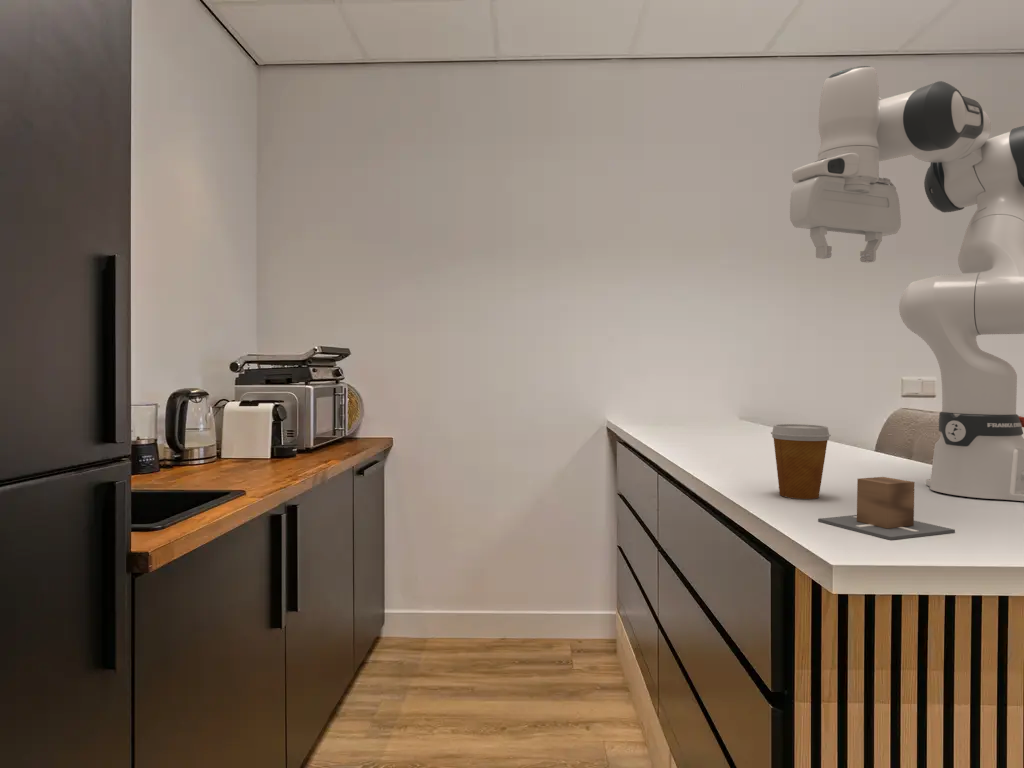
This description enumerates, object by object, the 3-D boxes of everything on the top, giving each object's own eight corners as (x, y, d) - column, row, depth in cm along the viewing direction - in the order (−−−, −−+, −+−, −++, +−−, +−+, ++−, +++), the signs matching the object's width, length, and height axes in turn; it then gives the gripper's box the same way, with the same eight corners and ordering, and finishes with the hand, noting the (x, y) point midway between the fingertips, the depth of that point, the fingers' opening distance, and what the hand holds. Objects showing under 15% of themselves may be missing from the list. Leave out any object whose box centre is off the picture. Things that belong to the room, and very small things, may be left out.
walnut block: (882, 518, 105) (883, 476, 105) (913, 525, 100) (914, 482, 100) (856, 521, 103) (857, 478, 103) (887, 528, 98) (888, 484, 98)
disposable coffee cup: (818, 491, 130) (820, 424, 129) (837, 501, 120) (838, 429, 120) (763, 490, 131) (764, 423, 130) (777, 500, 121) (779, 428, 121)
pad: (879, 515, 109) (879, 512, 109) (955, 532, 98) (955, 529, 98) (818, 521, 105) (818, 518, 105) (890, 540, 94) (890, 536, 94)
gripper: (878, 183, 123) (877, 266, 123) (783, 170, 115) (782, 258, 115) (912, 174, 117) (910, 261, 117) (814, 159, 109) (812, 253, 109)
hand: (846, 260), depth 116 cm, fingers open, 8 cm apart
